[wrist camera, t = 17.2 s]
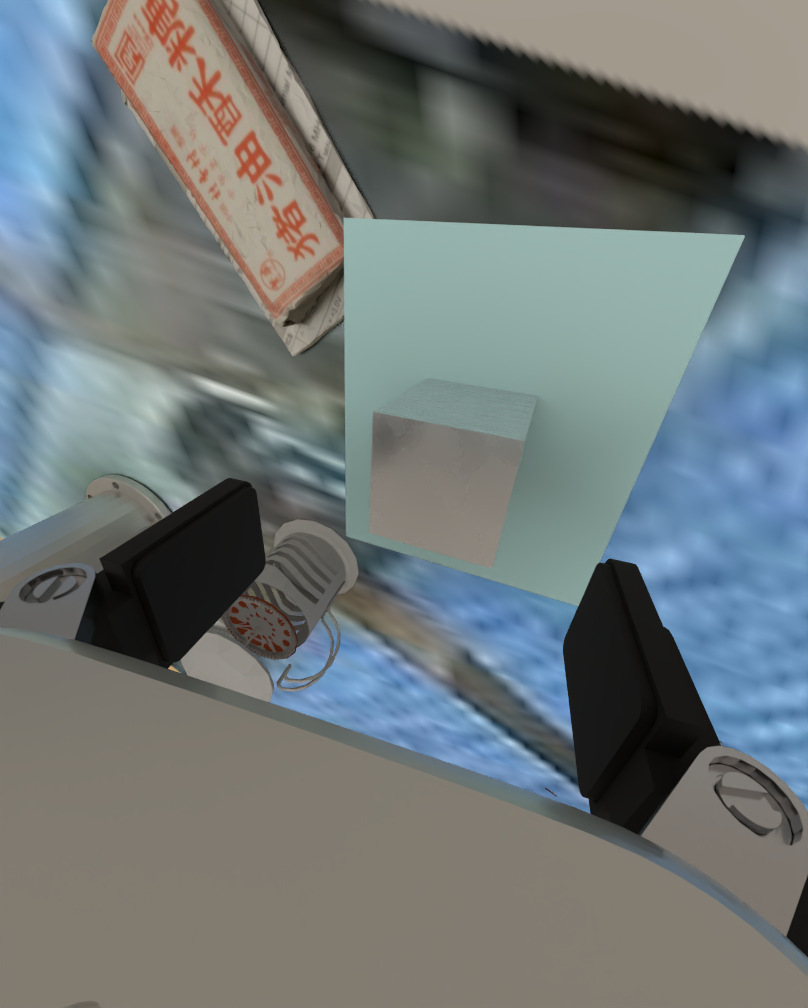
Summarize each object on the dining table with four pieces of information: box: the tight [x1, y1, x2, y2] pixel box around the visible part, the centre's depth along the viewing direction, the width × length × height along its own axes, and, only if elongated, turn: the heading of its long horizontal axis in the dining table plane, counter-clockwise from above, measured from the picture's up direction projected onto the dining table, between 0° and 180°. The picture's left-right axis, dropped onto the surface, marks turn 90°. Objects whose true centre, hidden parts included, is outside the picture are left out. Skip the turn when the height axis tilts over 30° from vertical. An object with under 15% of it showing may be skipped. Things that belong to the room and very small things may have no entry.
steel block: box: [369, 378, 538, 568], centre depth 16 cm, size 5×5×6 cm
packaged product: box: [91, 0, 375, 356], centre depth 22 cm, size 18×5×10 cm
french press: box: [181, 519, 359, 702], centre depth 29 cm, size 10×12×25 cm
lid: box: [344, 218, 745, 606], centre depth 18 cm, size 16×14×1 cm
